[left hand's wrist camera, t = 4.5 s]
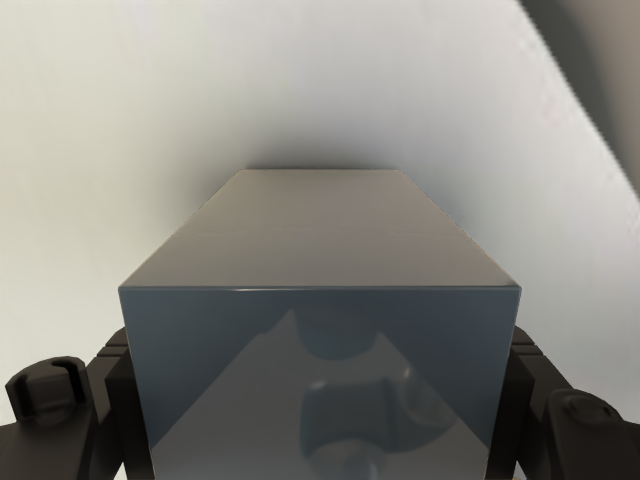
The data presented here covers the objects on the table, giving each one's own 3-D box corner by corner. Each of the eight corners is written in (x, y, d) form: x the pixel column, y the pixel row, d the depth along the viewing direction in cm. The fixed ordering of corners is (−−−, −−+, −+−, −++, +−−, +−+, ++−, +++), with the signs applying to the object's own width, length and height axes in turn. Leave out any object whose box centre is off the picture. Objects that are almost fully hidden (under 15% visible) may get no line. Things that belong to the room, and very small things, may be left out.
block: (400, 169, 17) (524, 287, 7) (390, 311, 19) (470, 558, 9) (239, 169, 17) (115, 287, 7) (249, 311, 19) (170, 557, 9)
